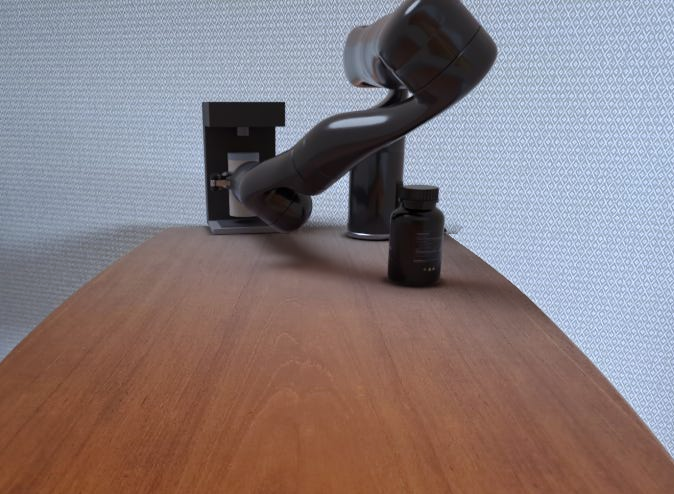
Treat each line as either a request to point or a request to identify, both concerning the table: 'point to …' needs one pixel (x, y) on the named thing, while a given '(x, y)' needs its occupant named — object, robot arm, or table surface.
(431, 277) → the supplement bottle
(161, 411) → the table surface
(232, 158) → the container
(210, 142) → the coffee maker
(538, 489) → the table surface
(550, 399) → the table surface
